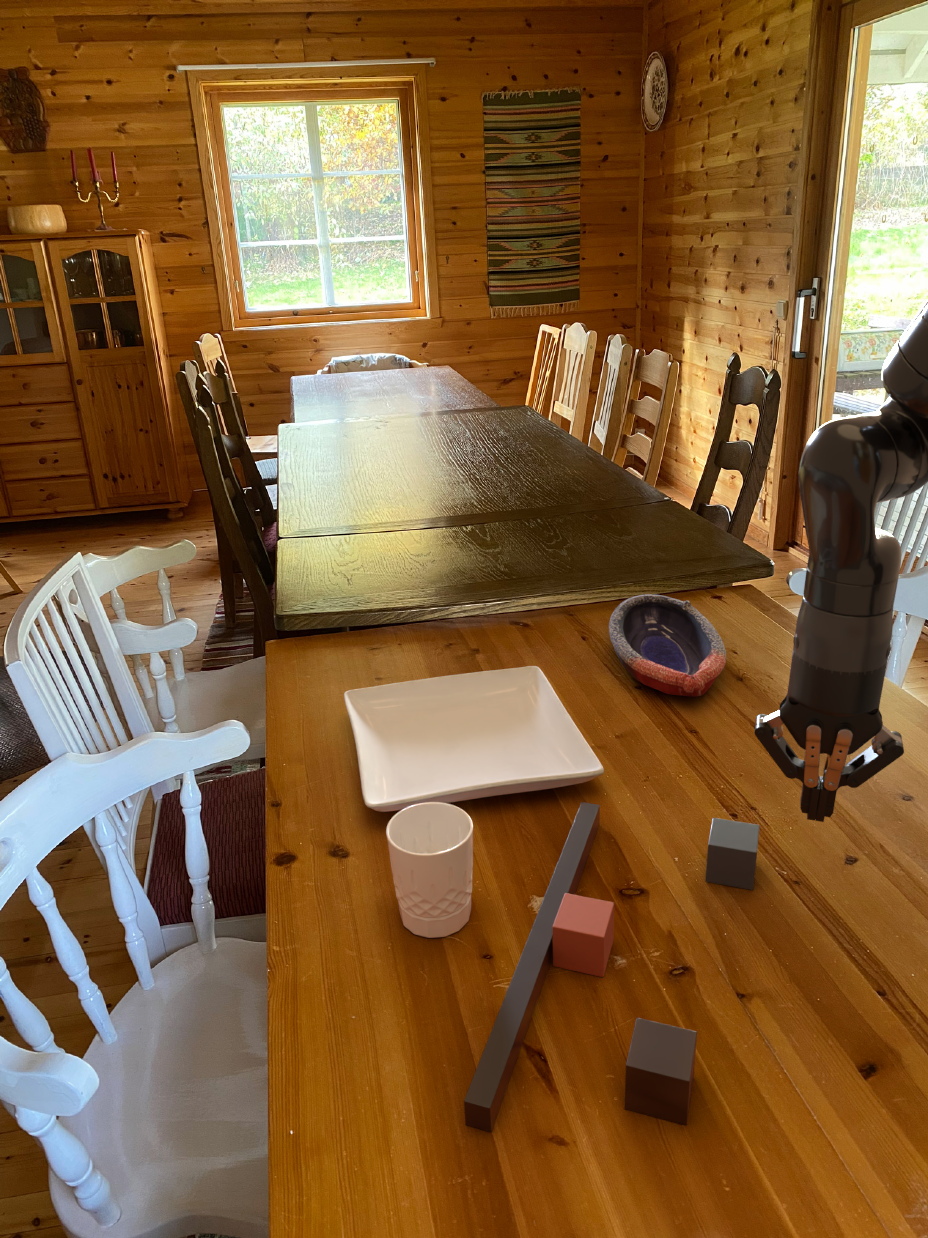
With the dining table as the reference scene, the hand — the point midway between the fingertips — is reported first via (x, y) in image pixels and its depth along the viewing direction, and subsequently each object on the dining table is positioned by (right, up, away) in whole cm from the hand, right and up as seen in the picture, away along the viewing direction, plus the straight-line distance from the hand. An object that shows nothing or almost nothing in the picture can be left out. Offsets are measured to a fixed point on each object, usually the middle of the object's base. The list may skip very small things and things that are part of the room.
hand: (814, 815), depth 85 cm
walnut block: (-18, -17, -17) cm, 30 cm away
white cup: (-35, -10, +2) cm, 37 cm away
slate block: (-6, -7, +6) cm, 11 cm away
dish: (-3, +12, +48) cm, 50 cm away
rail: (-25, -11, -2) cm, 28 cm away
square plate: (-33, +2, +28) cm, 43 cm away
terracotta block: (-22, -12, -4) cm, 25 cm away
